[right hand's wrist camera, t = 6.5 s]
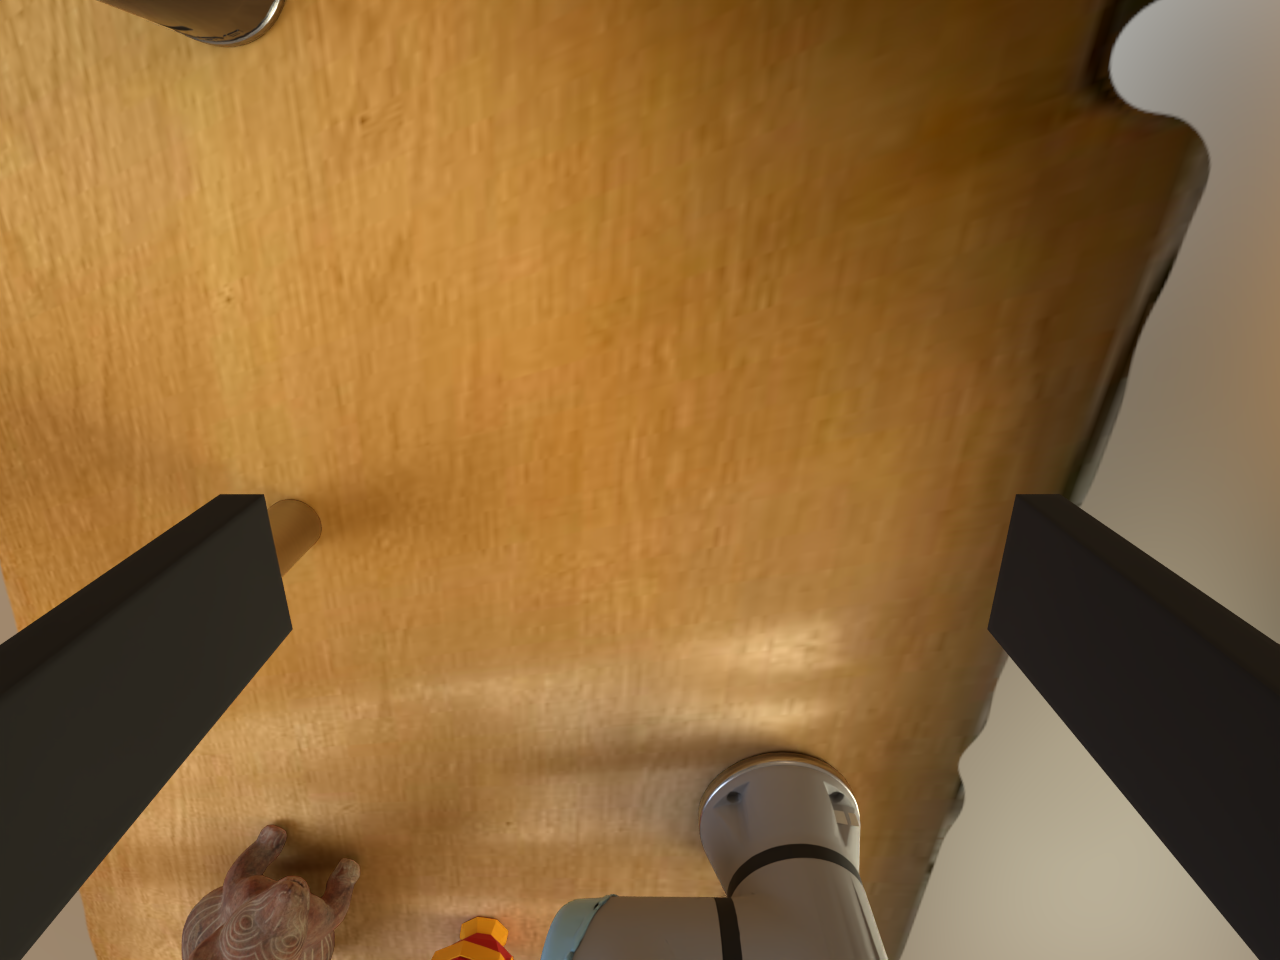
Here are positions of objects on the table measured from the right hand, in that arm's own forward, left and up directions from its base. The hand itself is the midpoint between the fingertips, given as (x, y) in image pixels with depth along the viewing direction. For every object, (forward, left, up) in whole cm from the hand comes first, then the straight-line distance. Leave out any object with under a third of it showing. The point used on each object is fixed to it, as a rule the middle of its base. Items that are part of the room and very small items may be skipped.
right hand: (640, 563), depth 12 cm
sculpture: (-56, +35, -41) cm, 78 cm away
